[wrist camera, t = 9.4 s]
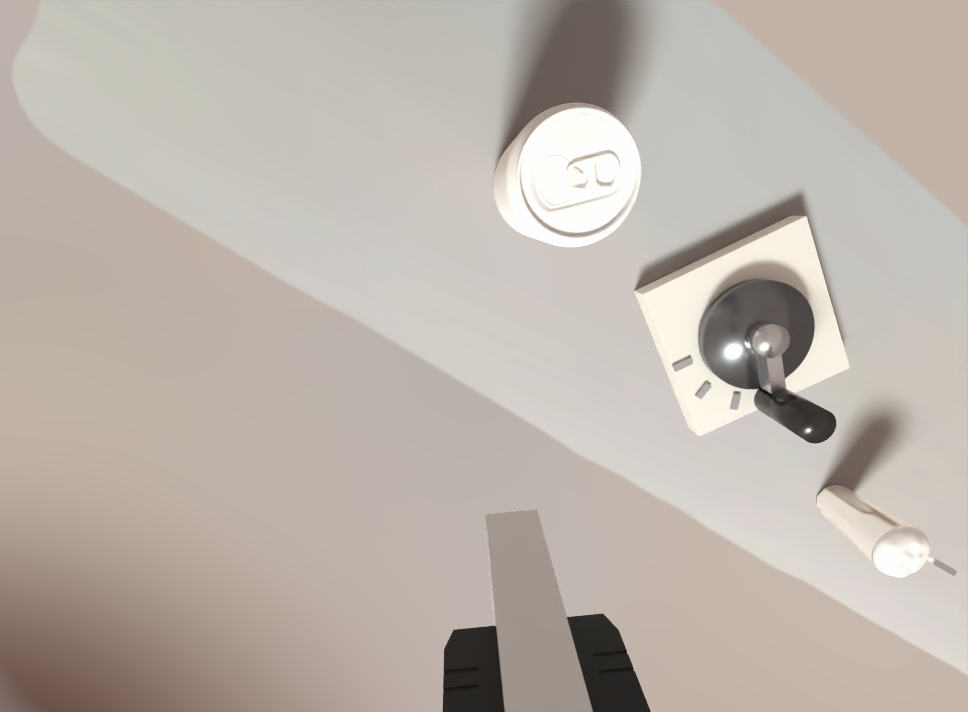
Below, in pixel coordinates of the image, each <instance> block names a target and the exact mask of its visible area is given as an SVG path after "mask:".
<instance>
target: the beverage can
mask: <svg viewBox="0 0 968 712" xmlns="http://www.w3.org/2000/svg"><path fill="white" fill-rule="evenodd" d="M640 183H641V160H640V155H639V151H638V147H637V145H636V142H635V140H634V138H633V136H632V134H631V133H630V131H629V130H628V128H627V127H626V126H625V125H624V123H623V122H622V121H621V120H620V119H619V118H617V117H616V116H615V115H614V114H612V113H611V112H609V111H607V110H605V109H603V108H601V107H599V106H596V105H592V104H587V103H566V104H561V105H557V106H554V107H552V108H549V109H547V110H545V111H543V112H542V113H540V114H539V115H537V116H536V117H535V118H533V119H532V120H531V121H530V122H529V123H528V124H527V125H526V126H525V127H524V128H523V130H522V131H521V132H520V133H519V134H518V136H517V137H516V138H515V139H514V140H513V142H512V143H511V144H510V145H509V147H508V148H507V149H506V150H505V152H504V153H503V155H502V156H501V158H500V160H499V162H498V165H497V167H496V171H495V175H494V185H493V186H494V197H495V201H496V204H497V207H498V209H499V211H500V213H501V215H502V216H503V218H504V219H505V221H506V222H507V223H508V224H509V225H510V226H511V227H512V228H514V229H515V230H516V231H518V232H519V233H521V234H523V235H526V236H528V237H531V238H534V239H537V240H540V241H543V242H546V243H549V244H553V245H556V246H562V247H579V246H584V245H588V244H591V243H594V242H596V241H599V240H601V239H603V238H604V237H606V236H608V235H609V234H610V233H612V232H613V231H614V230H615V229H616V228H618V227H619V226H620V224H621V223H622V222H623V221H624V220H625V219H626V217H627V216H628V214H629V213H630V211H631V209H632V208H633V206H634V203H635V201H636V199H637V196H638V192H639V188H640Z"/></svg>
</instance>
